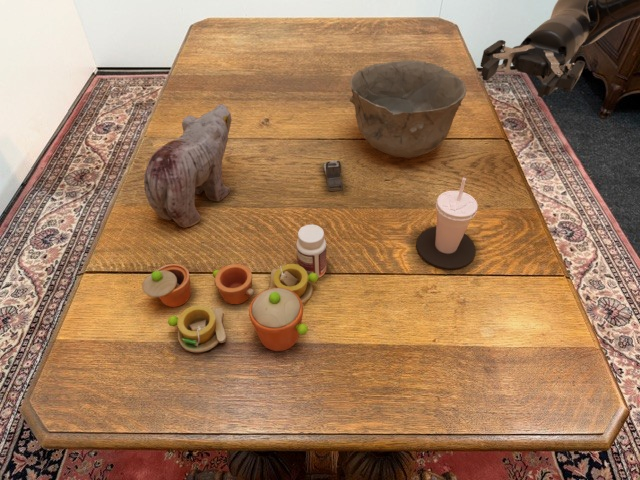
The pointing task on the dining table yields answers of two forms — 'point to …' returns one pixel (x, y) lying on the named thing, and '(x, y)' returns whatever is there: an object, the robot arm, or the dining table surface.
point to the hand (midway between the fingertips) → (513, 82)
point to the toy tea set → (236, 287)
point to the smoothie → (453, 218)
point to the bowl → (406, 105)
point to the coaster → (444, 260)
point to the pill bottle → (311, 249)
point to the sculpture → (189, 167)
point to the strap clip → (333, 175)
